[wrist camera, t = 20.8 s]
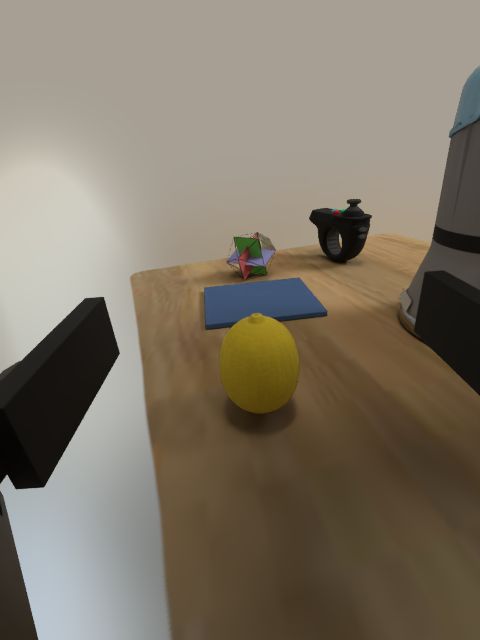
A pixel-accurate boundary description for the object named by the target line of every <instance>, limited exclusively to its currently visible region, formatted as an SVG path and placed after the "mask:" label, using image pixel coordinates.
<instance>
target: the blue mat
mask: <svg viewBox="0 0 480 640" xmlns="http://www.w3.org/2000/svg"><path fill="white" fill-rule="evenodd" d="M204 292H205V323H206V329H214V328H223V327H232V326H233V325H234V324H236V323H237V322H239V321H240V320H242V319H244V318H246V317H250V316H251V315H252V314H254V313H260V314H262V315H263V316H267V317H270V318H273V319H275V320H277V321H284V320H293V319H302V318H311V317H319V316H327V310H326V309H325V308H324V307H323V305H322V304H321V303H320V302H319V301H318V299H317V298H316V297H315V296H314V295H313V294H312V292H311V291H310V290H309V289H308V288H307V286H306V285H305V284H304V283H303V282H302V280H301V279H300V278H291V279H281V280H272V281H262V282H253V283H244V284H234V285H225V286H215V287H206V288H204Z"/></svg>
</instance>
